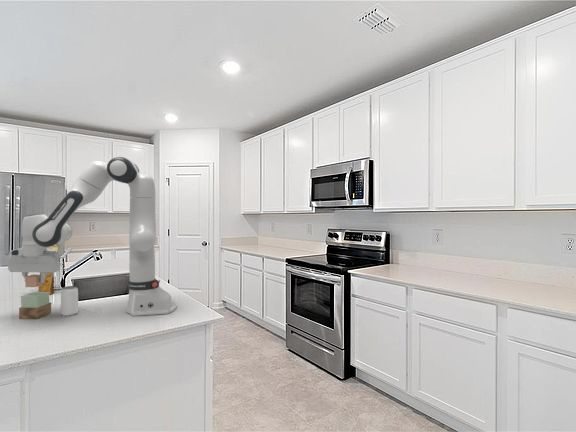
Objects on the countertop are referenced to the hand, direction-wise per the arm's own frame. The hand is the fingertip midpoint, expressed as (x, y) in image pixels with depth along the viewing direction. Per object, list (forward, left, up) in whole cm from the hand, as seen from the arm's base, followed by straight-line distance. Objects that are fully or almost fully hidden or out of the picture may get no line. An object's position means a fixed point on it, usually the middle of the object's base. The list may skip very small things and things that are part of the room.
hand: (34, 282), depth 144 cm
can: (-13, -3, -15) cm, 20 cm away
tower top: (0, 0, -10) cm, 10 cm away
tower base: (0, 0, -15) cm, 15 cm away
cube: (0, 0, -2) cm, 2 cm away
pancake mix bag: (+22, -40, -15) cm, 48 cm away
